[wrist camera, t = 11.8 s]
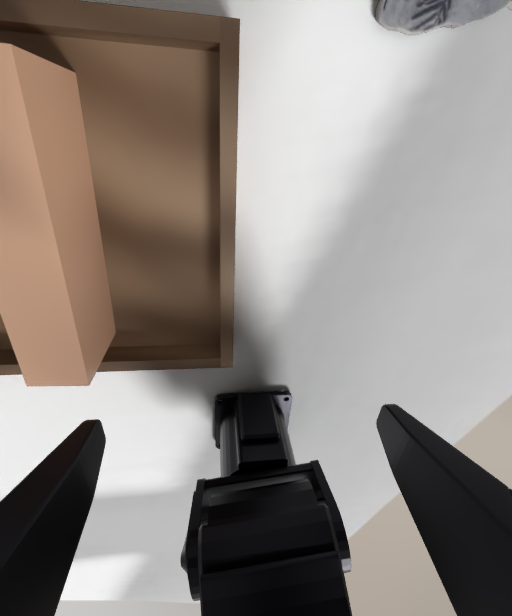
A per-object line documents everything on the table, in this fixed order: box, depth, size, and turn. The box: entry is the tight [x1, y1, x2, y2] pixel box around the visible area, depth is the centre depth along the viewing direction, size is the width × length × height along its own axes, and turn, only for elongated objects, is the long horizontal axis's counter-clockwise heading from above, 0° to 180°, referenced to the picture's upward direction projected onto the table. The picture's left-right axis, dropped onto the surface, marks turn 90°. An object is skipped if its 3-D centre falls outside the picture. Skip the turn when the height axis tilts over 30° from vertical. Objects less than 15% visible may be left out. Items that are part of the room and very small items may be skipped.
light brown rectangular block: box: [0, 43, 116, 386], centre depth 15 cm, size 14×3×5 cm, turn 174°
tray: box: [0, 0, 240, 375], centre depth 16 cm, size 18×18×2 cm
